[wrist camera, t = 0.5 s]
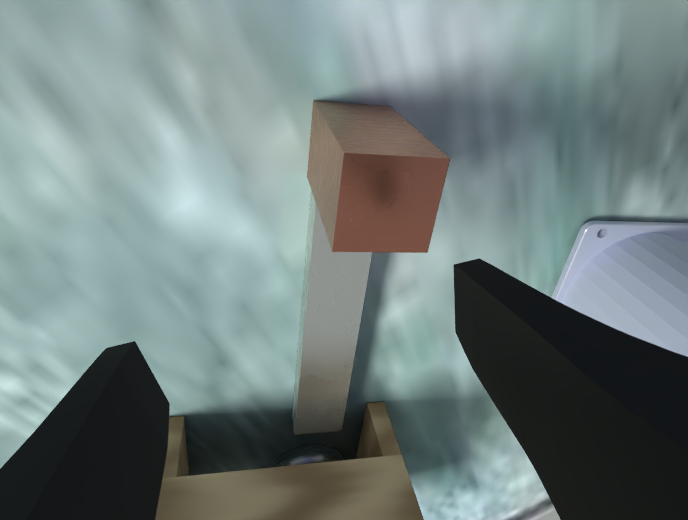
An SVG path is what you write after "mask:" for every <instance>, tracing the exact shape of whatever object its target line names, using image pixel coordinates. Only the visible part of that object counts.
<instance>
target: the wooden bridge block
mask: <svg viewBox="0 0 688 520" xmlns="http://www.w3.org/2000/svg"><path fill="white" fill-rule="evenodd" d="M155 520H424V519H423V516H422V513H421V510H420V507H419V504H418V501H417V498H416V495H415V492H414V490H413V487H412V484H411V481H410V478H409V475H408V472H407V469H406V466H405V463H404V460H403V457H402V454H401V451H400V448H399V445H398V442H397V439H396V436H395V433H394V430H393V427H392V424H391V421H390V419H389V416H388V413H387V410H386V407H385V404H384V402H374V403H367V407H366V411H365V416H364V421H363V426H362V431H361V436H360V441H359V446H358V451H357V455H356V459H352V460H342V461H332V462H322V463H312V464H302V465H292V466H282V467H272V468H262V469H252V470H242V471H231V472H221V473H211V474H201V475H191V476H189V466H188V454H187V443H186V432H185V421H184V416H178V417H169V434H168V449H167V455H166V461H165V467H164V473H163V479H162V485H161V490H160V496H159V501H158V507H157V512H156V518H155Z"/></svg>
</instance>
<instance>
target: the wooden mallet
mask: <svg viewBox="0 0 688 520" xmlns="http://www.w3.org/2000/svg"><path fill="white" fill-rule="evenodd" d="M449 161H450V158H449V157H448V156H447V155H446V154H444V153H443V152H442V151H441V150H440V149H439V148H437V147H436V146H435V145H434V144H433V143H432V142H431V141H429V140H428V139H427V138H426V137H425V136H424V135H423V134H421V133H420V132H419V131H418V130H417V129H416V128H414V127H413V126H412V125H411V124H410V123H409V122H408V121H406V120H405V119H404V118H403V117H402V116H401V115H399V114H398V113H397V112H396V111H395V110H394V109H393V108H391V107H388V106H376V105H363V104H351V103H338V102H326V101H313V112H312V124H311V136H310V149H309V161H308V174H307V178H308V181H309V184H310V187H311V197H310V208H309V220H308V231H307V243H306V255H305V266H304V278H303V290H302V301H301V313H300V325H299V336H298V348H297V360H296V371H295V383H294V395H293V406H292V420H293V428H294V435H298V434H310V433H322V432H334V431H342V427H343V421H344V415H345V409H346V403H347V397H348V392H349V386H350V380H351V374H352V368H353V362H354V357H355V351H356V345H357V339H358V333H359V327H360V322H361V316H362V310H363V304H364V298H365V292H366V287H367V281H368V275H369V269H370V263H371V257H372V252H426V253H427V252H428V248H429V244H430V240H431V236H432V232H433V227H434V223H435V219H436V215H437V211H438V207H439V203H440V199H441V194H442V190H443V186H444V182H445V178H446V174H447V170H448V166H449Z"/></svg>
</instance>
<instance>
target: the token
mask: <svg viewBox="0 0 688 520" xmlns="http://www.w3.org/2000/svg"><path fill="white" fill-rule="evenodd" d="M342 460H343V456H342V454H341V453H340V452H339V450H337V449H336V448H334V447H332V446H329V445H326V444H317V443H315V444H305V445H301V446H297V447H295V448H292V449H290V450H288V451H286V452H285V453H283V454H282V455H281V456H280V457H279V458H278V459H277V460H276V461H275V462H274V464H273V466H272V467H282V466H292V465H302V464H312V463H322V462H332V461H342Z"/></svg>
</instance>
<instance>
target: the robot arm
mask: <svg viewBox="0 0 688 520" xmlns="http://www.w3.org/2000/svg"><path fill="white" fill-rule="evenodd" d="M601 229H602V230H601ZM600 230H601V231H600ZM599 231H600V232H599ZM598 232H599V233H598ZM454 292H455V329H456V334H457V336H458V338H459V340H460V343H461V345H462V347H463V349H464V352H465V354H466V356H467V358H468V360H469V362H470V364H471V366H472V368H473V370H474V372H475V373H476V375H477V377H478V378H479V380H480V381H481V383H482V385H483V386H484V388H485V389H486V391H487V393H488V394H489V396H490V397H491V399H492V401H493V402H494V404H495V405H496V407H497V408H498V410H499V412H500V413H501V415H502V416H503V418H504V420H505V421H506V423H507V424H508V426H509V427H510V429H511V431H512V432H513V434H514V435H515V437H516V438H517V440H518V442H519V443H520V445H521V446H522V448H523V449H524V451H525V453H526V454H527V456H528V458H529V460H530V461H531V463H532V465H533V466H534V468H535V470H536V472H537V474H538V476H539V478H540V479H541V481H542V483H543V485H544V487H545V489H546V491H547V493H548V495H549V497H550V499H551V501H552V503H553V505H554V507H555V509H556V511H557V513H558V515H559V517H560V519H561V520H688V223H666V222H625V221H589V222H587V223H585V224H584V225H583V226H582V227H581V229H580V231H579V234H578V236H577V238H576V241H575V243H574V245H573V248H572V250H571V252H570V255H569V257H568V259H567V262H566V264H565V266H564V269H563V271H562V273H561V276H560V278H559V280H558V283H557V285H556V288H555V290H554V292H553V295H552V297H549V296H547V295H545V294H543V293H541V292H539V291H537V290H536V289H534V288H532V287H530V286H528V285H527V284H525V283H523V282H521V281H519V280H518V279H516V278H514V277H512V276H510V275H509V274H507V273H505V272H503V271H501V270H500V269H498V268H496V267H494V266H493V265H491V264H489V263H487V262H485V261H483V260H481V259H476V260H471V261H467V262H463V263H459V264H455V265H454ZM168 434H169V402H168V400H167V398H166V397H165V395H164V393H163V391H162V389H161V388H160V386H159V384H158V382H157V380H156V379H155V377H154V375H153V373H152V371H151V369H150V368H149V366H148V364H147V362H146V360H145V359H144V357H143V355H142V353H141V351H140V350H139V348H138V346H137V344H136V342H135V341H134V342H130V343H126V344H122V345H118V346H113V347H109V348H106V349H105V350H104V351H103V352H102V353H101V355H100V356H99V357H98V358H97V359H96V360H95V361H94V362H93V364H92V365H91V366H90V367H89V368H88V369H87V371H86V372H85V373H84V374H83V375H82V376H81V378H80V379H79V380H78V381H77V382H76V384H75V385H74V386H73V387H72V388H71V389H70V391H69V392H68V393H67V394H66V395H65V397H64V398H63V399H62V400H61V401H60V402H59V404H58V405H57V406H56V407H55V408H54V409H53V411H52V412H51V413H50V414H49V415H48V417H47V418H46V419H45V420H44V421H43V422H42V424H41V425H40V426H39V427H38V428H37V429H36V430H35V432H34V433H33V434H32V435H31V436H30V437H29V438H28V439H27V440H26V442H25V443H24V444H23V445H22V446H21V447H20V448H19V449H18V450H17V451H16V452H15V454H14V455H13V456H12V457H11V458H10V459H9V460H8V461H7V462H6V463H5V464H4V466H3V467H2V468H1V469H0V520H155V518H156V512H157V507H158V501H159V496H160V490H161V485H162V479H163V473H164V467H165V461H166V455H167V449H168Z"/></svg>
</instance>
